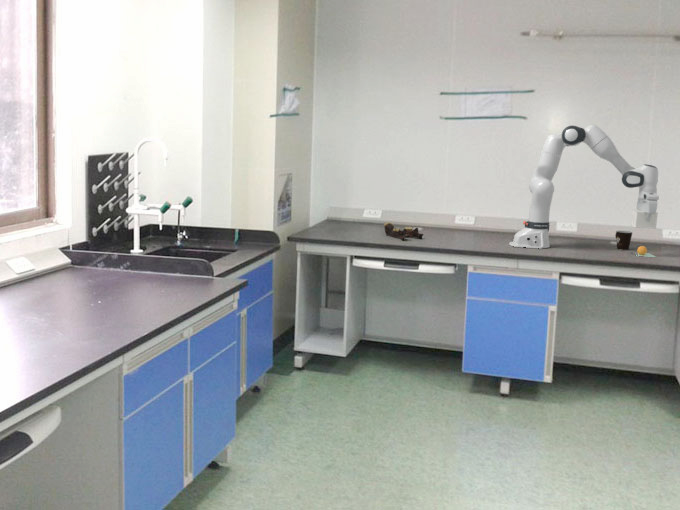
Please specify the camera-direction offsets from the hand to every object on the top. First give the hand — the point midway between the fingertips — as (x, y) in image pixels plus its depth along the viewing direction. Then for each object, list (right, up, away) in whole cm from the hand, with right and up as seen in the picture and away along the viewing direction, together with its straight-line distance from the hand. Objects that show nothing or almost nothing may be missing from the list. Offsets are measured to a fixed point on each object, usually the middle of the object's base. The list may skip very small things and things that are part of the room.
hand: (644, 220), depth 428 cm
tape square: (0, -19, +3) cm, 19 cm away
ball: (0, -16, +3) cm, 17 cm away
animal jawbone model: (-127, -9, +40) cm, 134 cm away
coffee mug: (-4, -15, +23) cm, 28 cm away
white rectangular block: (0, -4, +1) cm, 4 cm away
